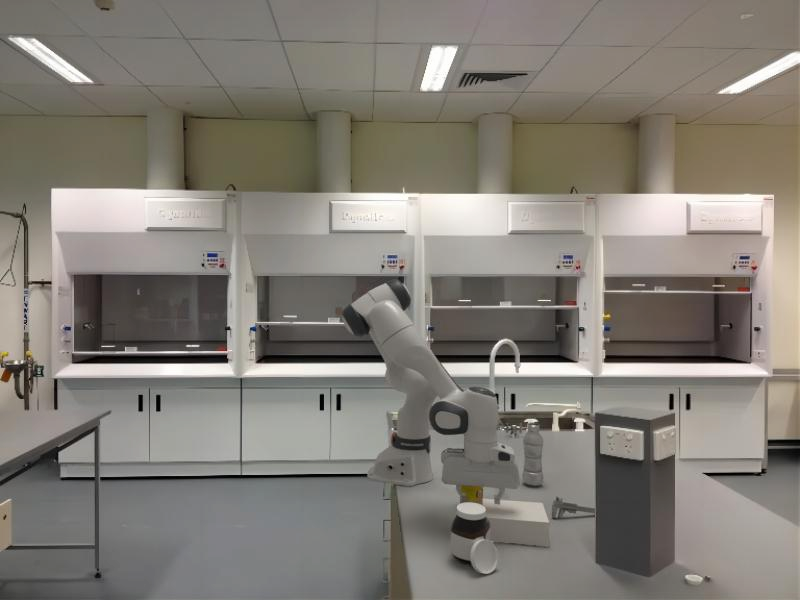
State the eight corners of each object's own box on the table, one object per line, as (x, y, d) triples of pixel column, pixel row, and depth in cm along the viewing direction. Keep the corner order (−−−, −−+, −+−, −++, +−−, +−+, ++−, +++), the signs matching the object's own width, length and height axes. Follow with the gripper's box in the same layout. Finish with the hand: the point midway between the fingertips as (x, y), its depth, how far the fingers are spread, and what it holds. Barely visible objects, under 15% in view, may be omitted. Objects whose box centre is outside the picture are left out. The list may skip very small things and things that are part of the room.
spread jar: (465, 544, 123) (466, 497, 123) (508, 558, 116) (509, 508, 116) (441, 565, 113) (442, 514, 113) (487, 581, 106) (487, 527, 106)
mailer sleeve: (483, 541, 124) (483, 517, 124) (482, 520, 136) (482, 498, 136) (548, 546, 122) (549, 522, 122) (542, 525, 134) (542, 502, 134)
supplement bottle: (477, 514, 140) (478, 469, 140) (456, 509, 143) (456, 464, 143) (486, 506, 146) (487, 462, 146) (465, 501, 149) (466, 458, 149)
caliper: (553, 520, 137) (553, 497, 137) (551, 518, 138) (551, 496, 138) (619, 515, 141) (619, 493, 141) (617, 514, 142) (617, 492, 142)
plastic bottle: (544, 489, 159) (545, 427, 160) (522, 487, 161) (523, 426, 161) (542, 482, 166) (543, 422, 166) (521, 480, 167) (522, 421, 167)
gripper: (440, 451, 129) (439, 504, 129) (520, 455, 126) (520, 510, 126) (441, 444, 135) (441, 494, 135) (518, 448, 132) (517, 500, 132)
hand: (479, 502), depth 130 cm, fingers open, 8 cm apart
